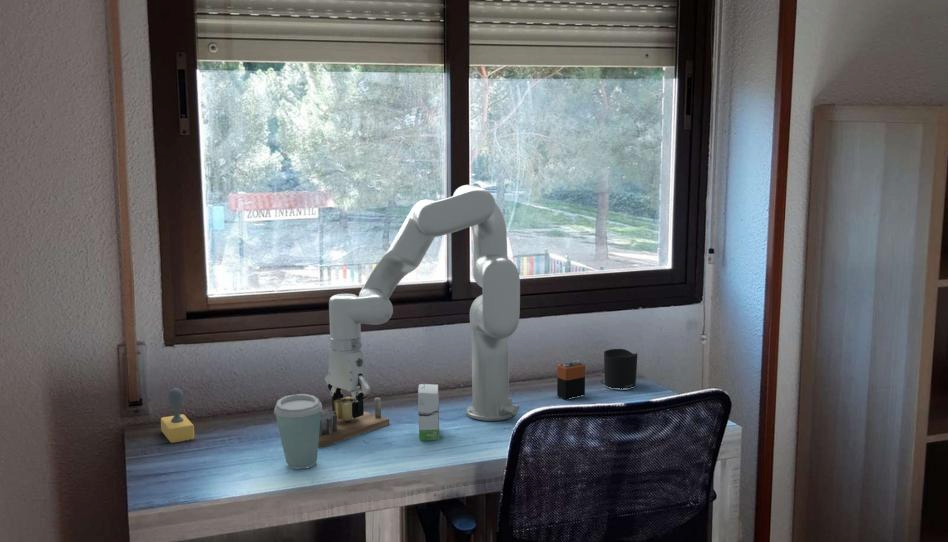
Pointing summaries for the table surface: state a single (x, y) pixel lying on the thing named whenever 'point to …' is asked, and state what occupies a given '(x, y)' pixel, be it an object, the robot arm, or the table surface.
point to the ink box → (428, 412)
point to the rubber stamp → (177, 420)
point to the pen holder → (620, 368)
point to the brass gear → (344, 408)
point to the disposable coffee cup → (299, 428)
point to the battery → (570, 379)
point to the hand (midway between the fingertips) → (348, 413)
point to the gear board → (348, 425)
